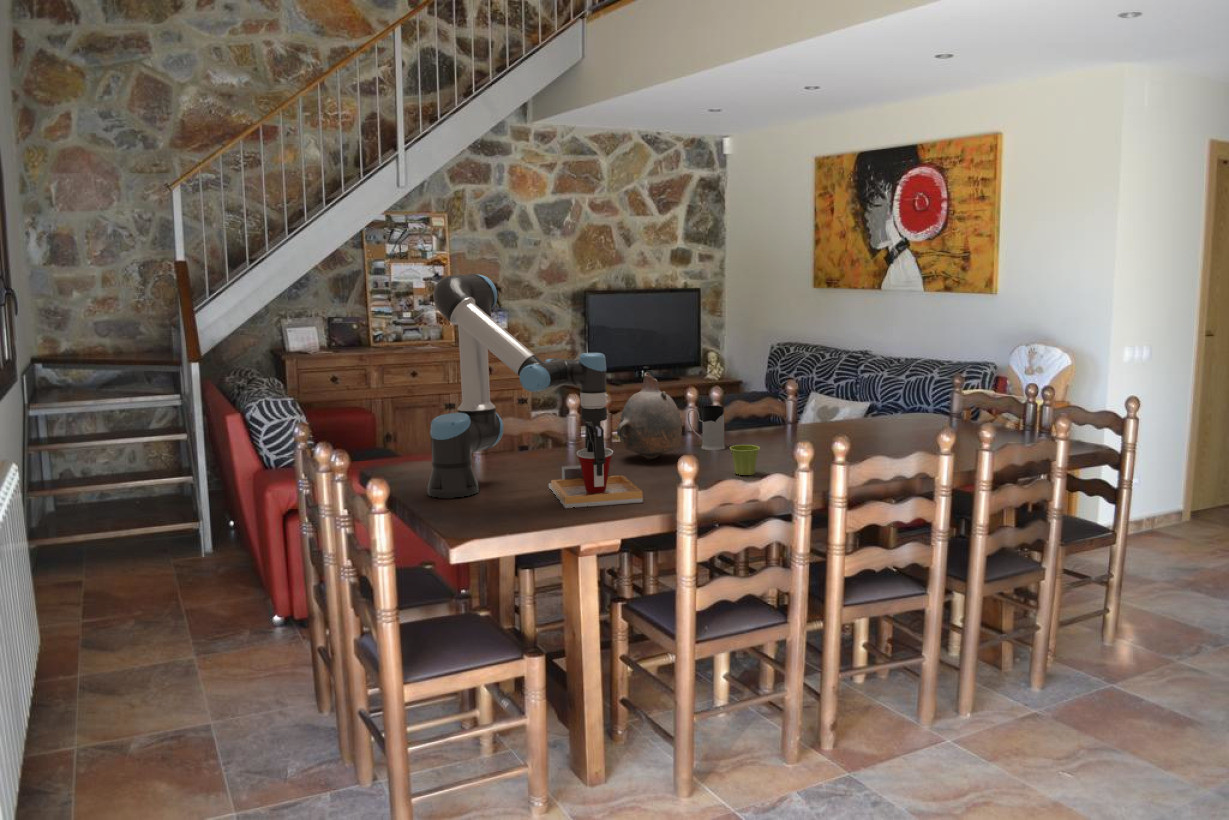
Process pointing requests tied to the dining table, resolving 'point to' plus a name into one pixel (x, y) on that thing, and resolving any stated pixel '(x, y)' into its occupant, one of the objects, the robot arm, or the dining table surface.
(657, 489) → the dining table surface
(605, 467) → the plastic cup
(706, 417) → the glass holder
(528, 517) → the dining table surface
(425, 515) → the dining table surface
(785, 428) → the dining table surface
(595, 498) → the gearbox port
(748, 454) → the plant pot
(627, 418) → the jug
